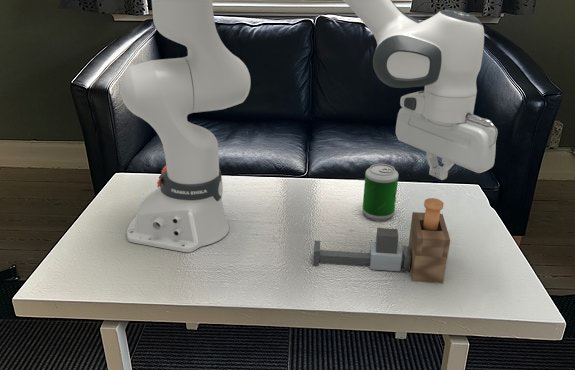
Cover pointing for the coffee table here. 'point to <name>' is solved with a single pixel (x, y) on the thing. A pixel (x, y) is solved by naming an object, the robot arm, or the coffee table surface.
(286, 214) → the coffee table surface
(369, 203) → the soda can
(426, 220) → the plunger
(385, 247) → the carriage
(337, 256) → the rail
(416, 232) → the wooden box with opening
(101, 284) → the coffee table surface
